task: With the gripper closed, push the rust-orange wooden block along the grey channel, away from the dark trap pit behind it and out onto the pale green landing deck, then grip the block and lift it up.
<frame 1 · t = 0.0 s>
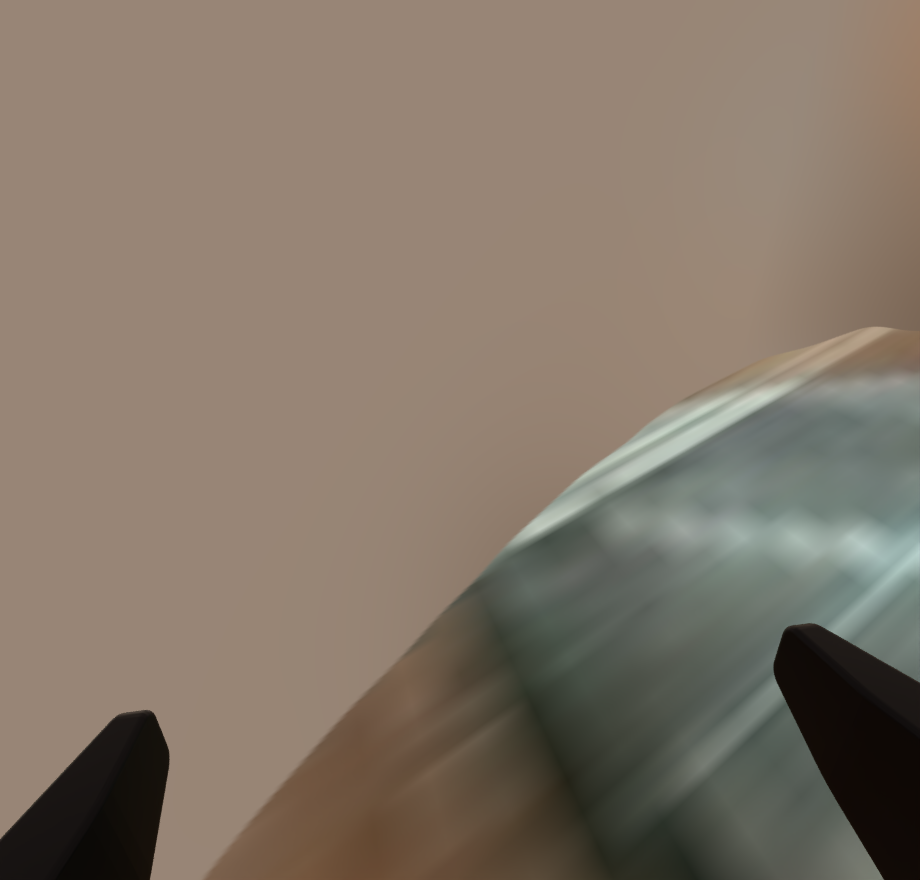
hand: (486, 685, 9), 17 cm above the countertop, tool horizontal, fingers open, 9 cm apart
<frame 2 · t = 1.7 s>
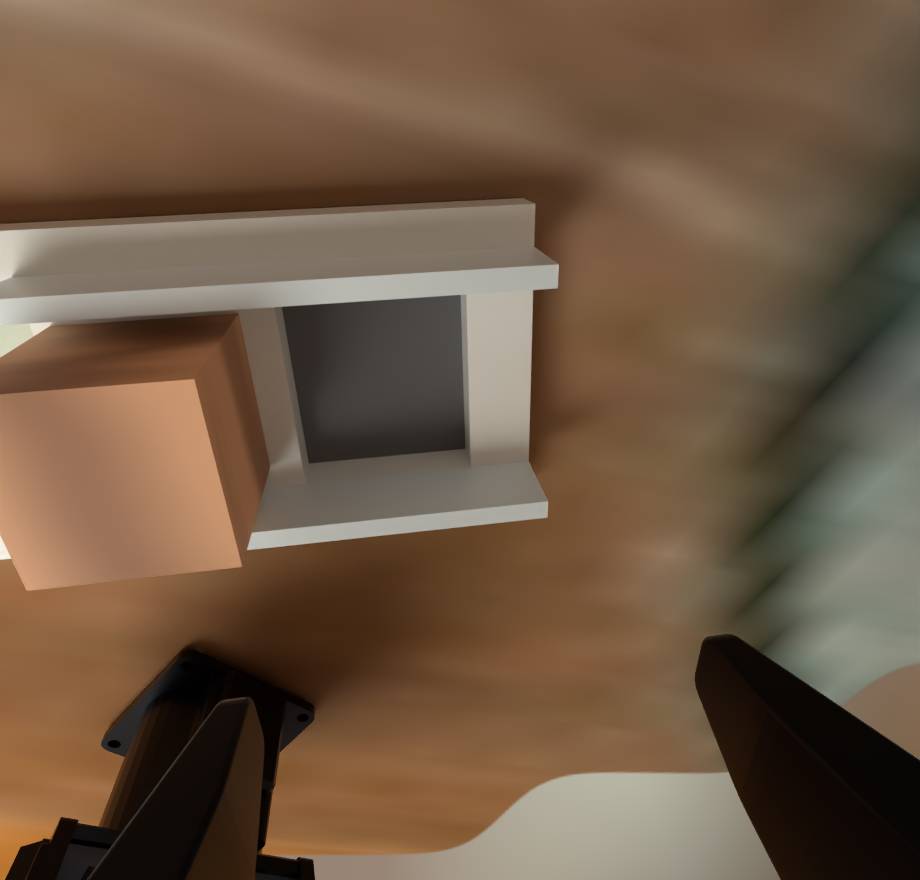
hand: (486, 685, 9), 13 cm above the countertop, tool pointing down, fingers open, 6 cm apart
block: (169, 401, 18), point 1 cm above the countertop, touching channel
channel: (149, 385, 19), on the countertop
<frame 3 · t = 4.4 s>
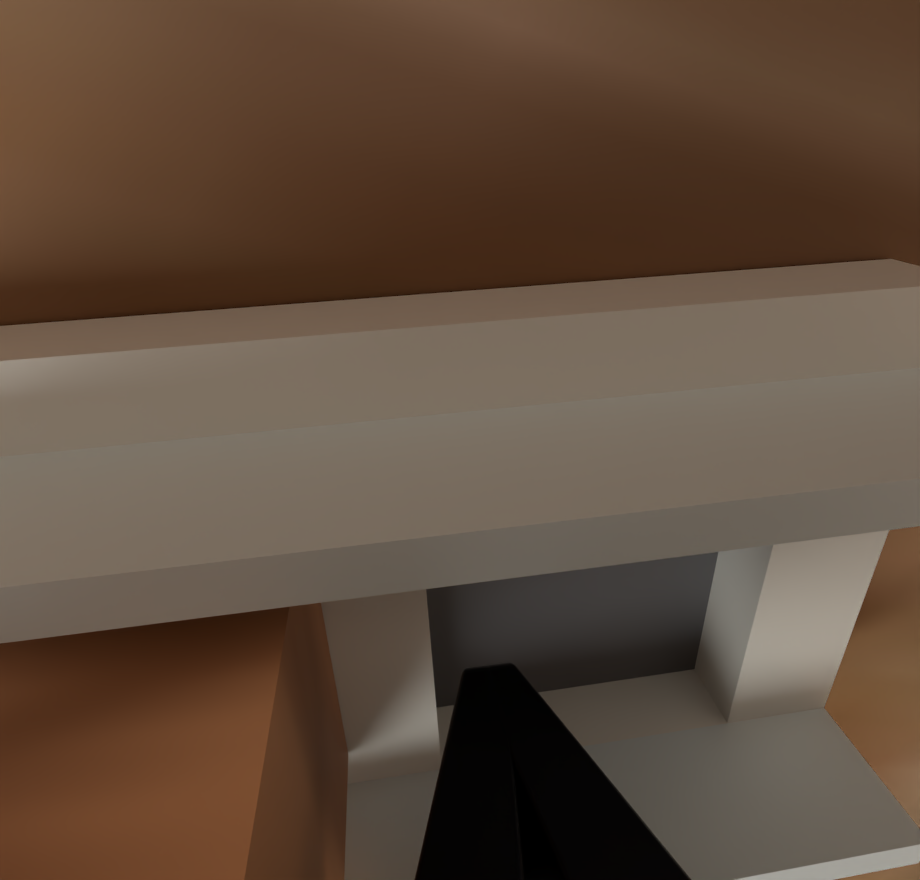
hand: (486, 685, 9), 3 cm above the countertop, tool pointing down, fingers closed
block: (157, 671, 9), point 2 cm above the countertop, touching channel, gripper
channel: (158, 608, 10), on the countertop
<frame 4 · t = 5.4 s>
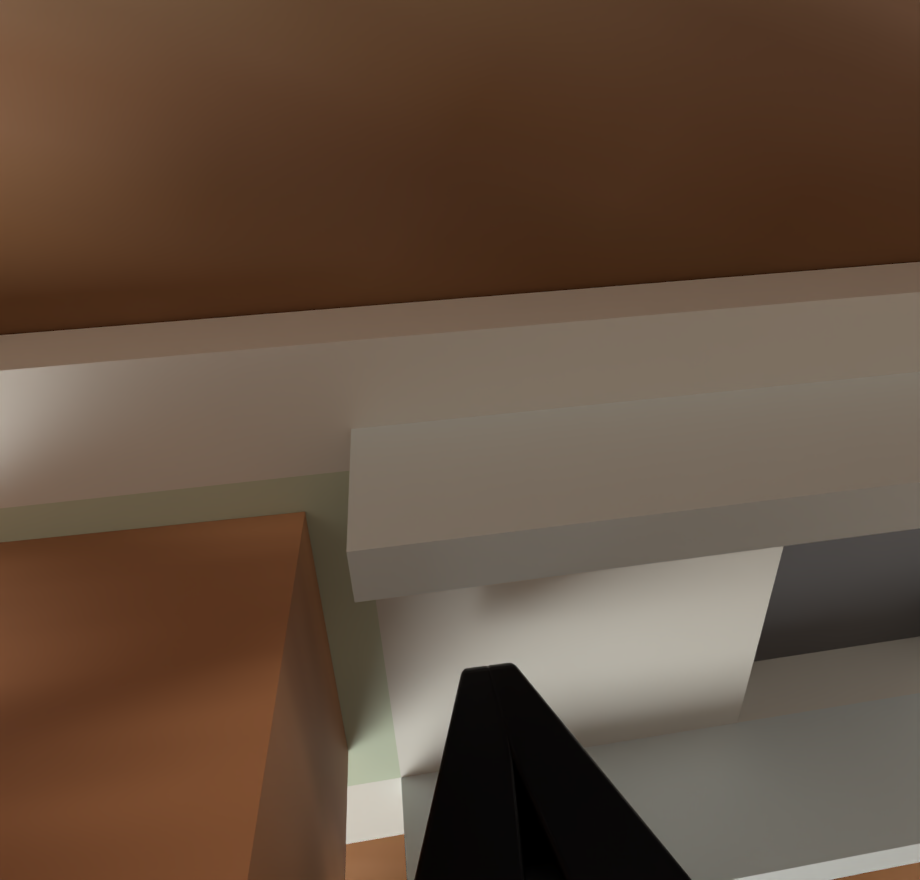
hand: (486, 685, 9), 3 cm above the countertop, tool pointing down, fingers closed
block: (158, 668, 9), point 2 cm above the countertop, touching channel, gripper
channel: (490, 570, 11), on the countertop
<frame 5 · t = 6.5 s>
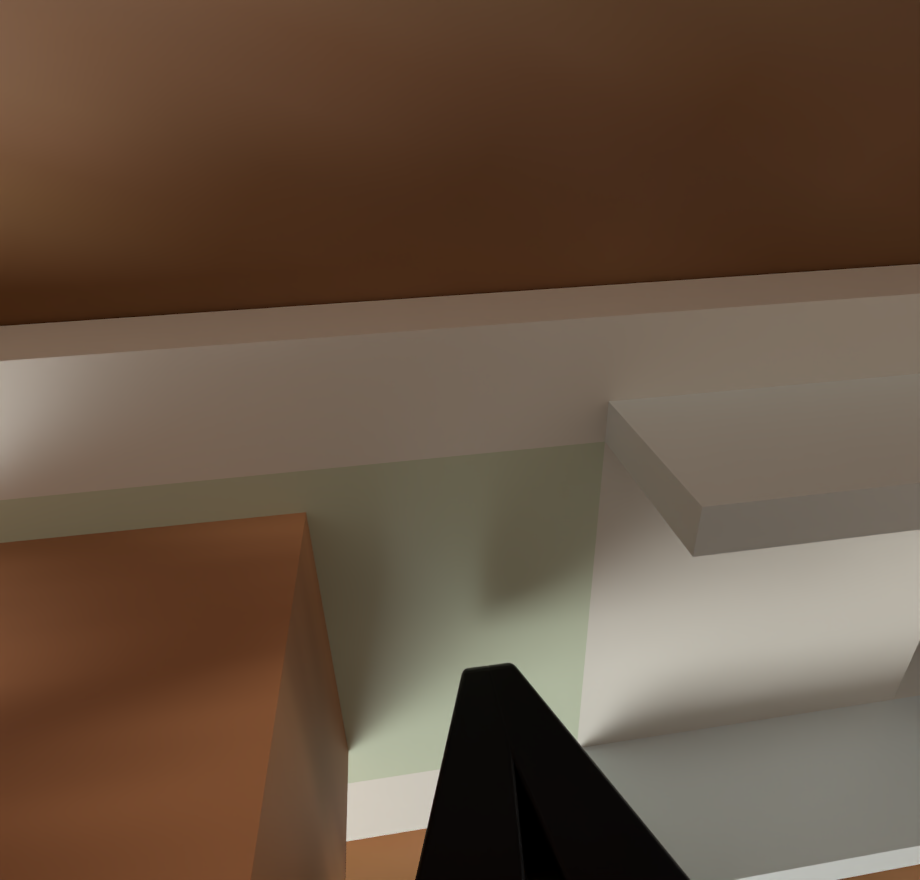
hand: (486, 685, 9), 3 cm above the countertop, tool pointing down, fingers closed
block: (159, 668, 9), point 1 cm above the countertop, touching channel, gripper
channel: (665, 547, 11), on the countertop
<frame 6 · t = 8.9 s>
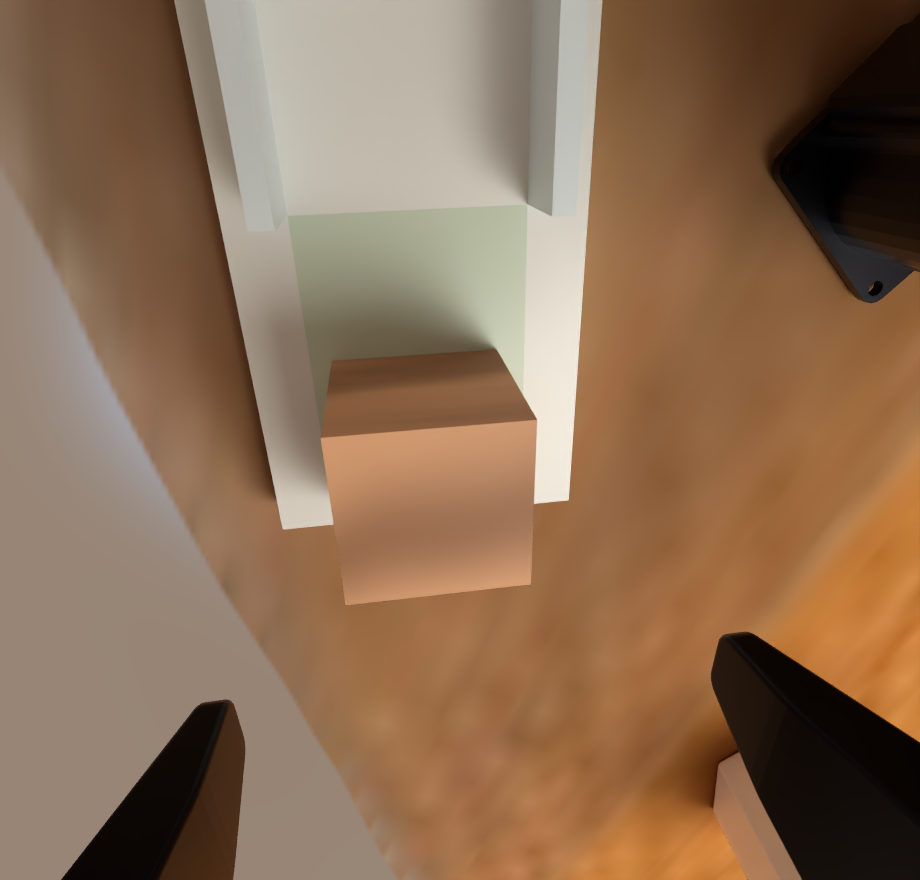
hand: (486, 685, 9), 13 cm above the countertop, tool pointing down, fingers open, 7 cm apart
block: (420, 428, 19), point 1 cm above the countertop, touching channel
jar: (777, 767, 34), on the countertop
channel: (401, 126, 17), on the countertop
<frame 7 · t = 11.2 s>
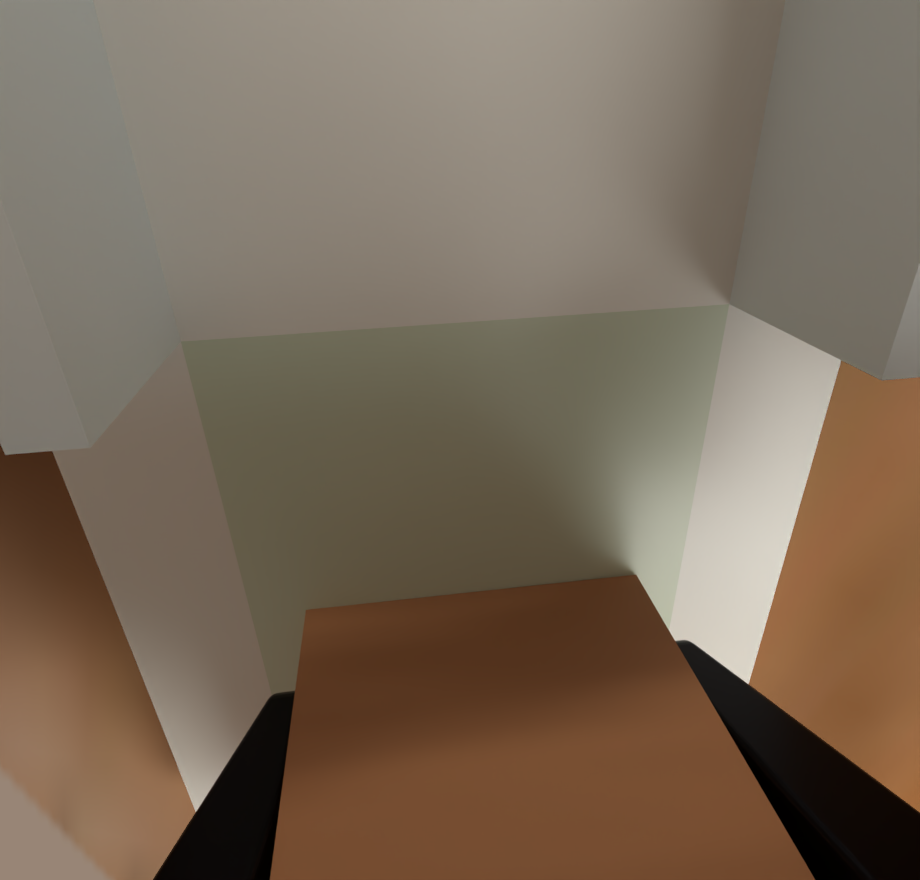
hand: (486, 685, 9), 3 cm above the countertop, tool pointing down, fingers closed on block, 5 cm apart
block: (477, 704, 10), point 2 cm above the countertop, touching channel, gripper
channel: (447, 129, 7), on the countertop
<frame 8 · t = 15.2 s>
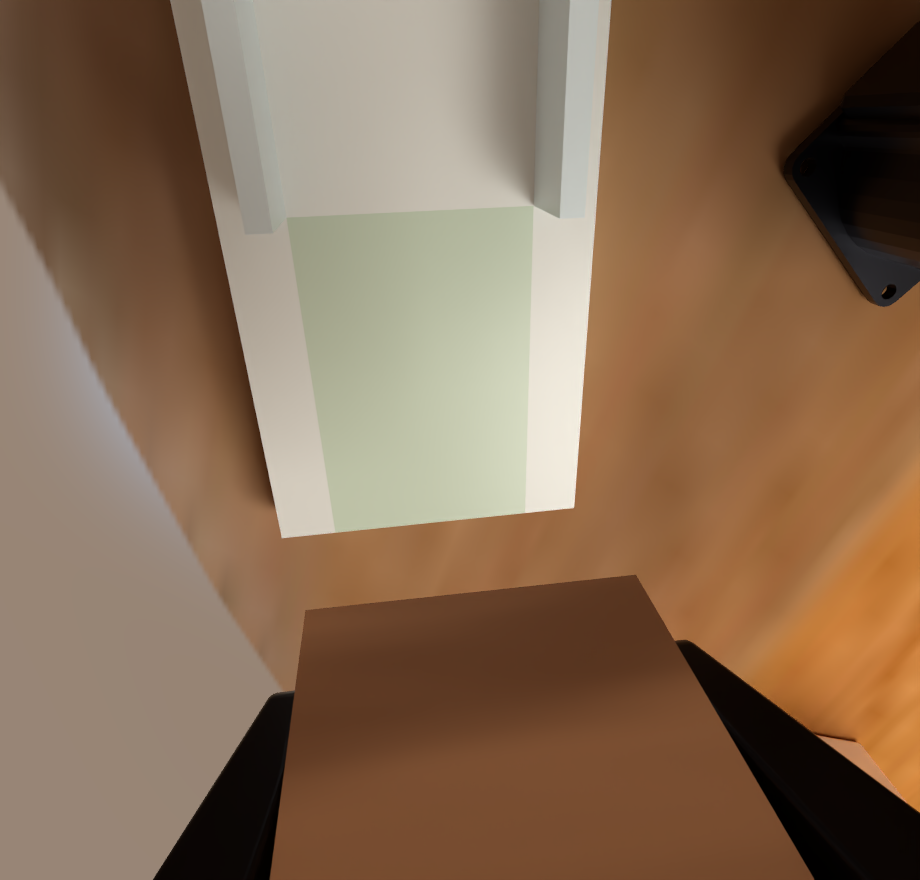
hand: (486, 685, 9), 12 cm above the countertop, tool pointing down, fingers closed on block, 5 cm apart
block: (476, 704, 10), point 11 cm above the countertop, touching gripper
jar: (783, 776, 34), on the countertop
channel: (404, 125, 16), on the countertop
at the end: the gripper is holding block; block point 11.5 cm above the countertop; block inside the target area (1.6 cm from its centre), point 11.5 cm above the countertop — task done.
